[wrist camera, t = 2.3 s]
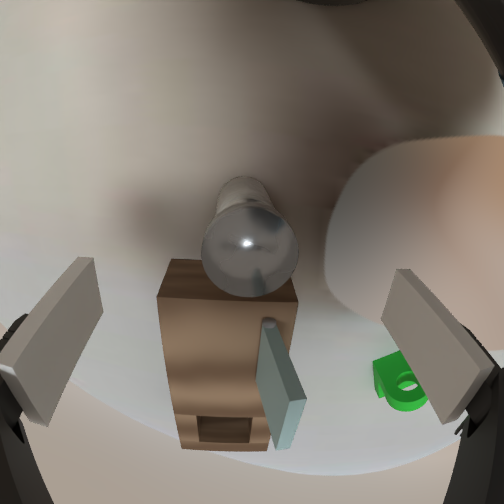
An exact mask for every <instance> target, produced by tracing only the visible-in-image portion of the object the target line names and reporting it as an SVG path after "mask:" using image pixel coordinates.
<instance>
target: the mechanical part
mask: <svg viewBox="0 0 504 504" xmlns="http://www.w3.org/2000/svg"><path fill="white" fill-rule="evenodd" d="M373 371H374V383H375V390H376V392H377V395H378V397H379V398H382V397H384V396H385V397H386V400H387V402H388V403H389V405H390V406H391V407H393V408H394V409H396V410H399V411H413V410H416V409H418V408H420V407H422V406H423V405H424V404H425V403H426V402H427V400H428V397H427V396H426V394H425V392H424V390H423V389H422V387H421V385H420V383H419V382H418V380H417V378H416V376H415V375H414V373H413V371H412V369H411V368H410V366H409V364H408V363H407V361H406V359H405V358H404V356H403V354H402V353H401V351H397V352H395V353H392V354H390V355H387V356H385V357H382V358H380V359H377V360H375V361H373ZM415 383H416V384H417V385H418V386H417V387H416V388H415V389H413V390H410V391H404V390H401V389H404V388H406V387H408V386H410V385H413V384H415Z"/></svg>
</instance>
